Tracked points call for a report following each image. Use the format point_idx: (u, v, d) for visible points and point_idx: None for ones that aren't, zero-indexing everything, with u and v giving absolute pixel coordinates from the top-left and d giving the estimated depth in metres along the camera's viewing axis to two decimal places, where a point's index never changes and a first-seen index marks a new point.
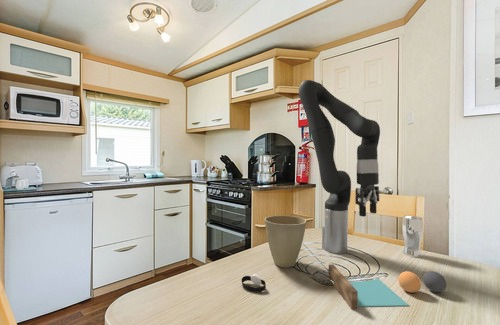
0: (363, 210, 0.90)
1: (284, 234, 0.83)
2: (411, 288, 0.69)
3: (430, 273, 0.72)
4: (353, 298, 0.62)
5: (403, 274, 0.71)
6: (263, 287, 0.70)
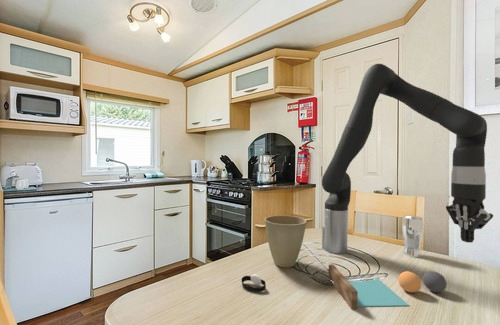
0: None
1: (284, 234, 0.83)
2: (411, 288, 0.69)
3: (430, 273, 0.72)
4: (353, 298, 0.62)
5: (403, 274, 0.71)
6: (263, 287, 0.70)
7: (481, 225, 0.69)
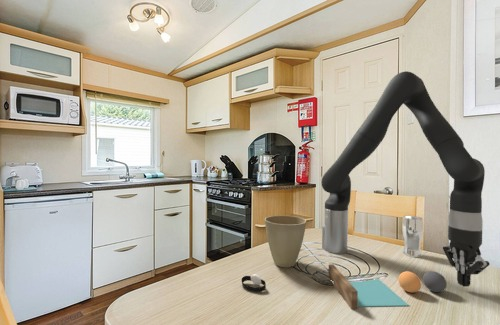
0: (458, 275, 0.73)
1: (284, 234, 0.83)
2: (411, 288, 0.69)
3: (430, 273, 0.72)
4: (353, 298, 0.62)
5: (403, 274, 0.71)
6: (263, 287, 0.70)
7: (477, 271, 0.69)
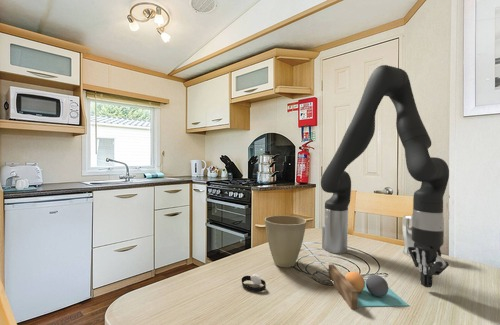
0: (421, 276, 0.73)
1: (284, 234, 0.83)
2: (353, 286, 0.68)
3: (374, 276, 0.69)
4: (353, 298, 0.62)
5: (351, 272, 0.71)
6: (263, 287, 0.70)
7: (438, 272, 0.68)
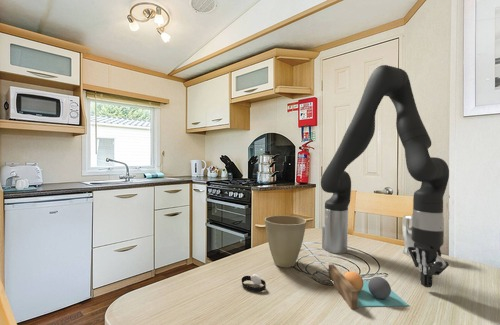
0: (421, 276, 0.73)
1: (284, 234, 0.83)
2: None
3: (379, 281, 0.67)
4: (353, 298, 0.62)
5: (349, 272, 0.71)
6: (263, 287, 0.70)
7: (438, 272, 0.68)
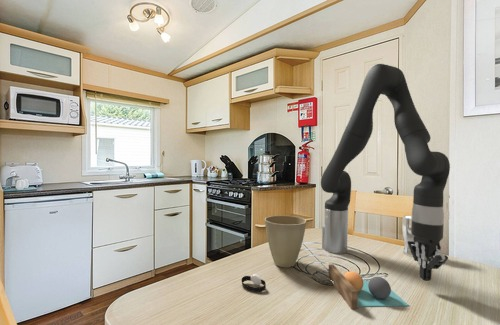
0: (420, 270, 0.73)
1: (284, 234, 0.83)
2: None
3: (379, 281, 0.67)
4: (353, 298, 0.62)
5: (349, 272, 0.71)
6: (263, 287, 0.70)
7: (437, 265, 0.68)
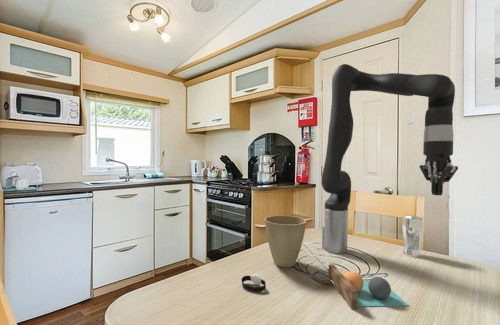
0: (432, 187, 0.80)
1: (284, 234, 0.83)
2: None
3: (379, 281, 0.67)
4: (353, 298, 0.62)
5: (349, 272, 0.71)
6: (263, 287, 0.70)
7: (448, 178, 0.75)
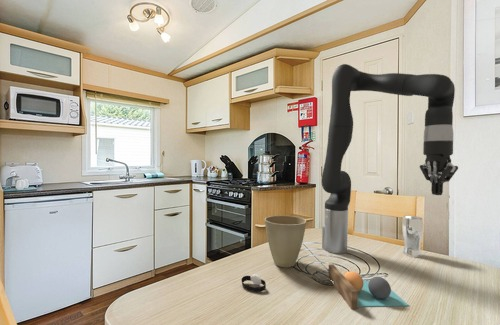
0: (432, 187, 0.80)
1: (284, 234, 0.83)
2: None
3: (379, 281, 0.67)
4: (353, 298, 0.62)
5: (349, 272, 0.71)
6: (263, 287, 0.70)
7: (448, 178, 0.75)
